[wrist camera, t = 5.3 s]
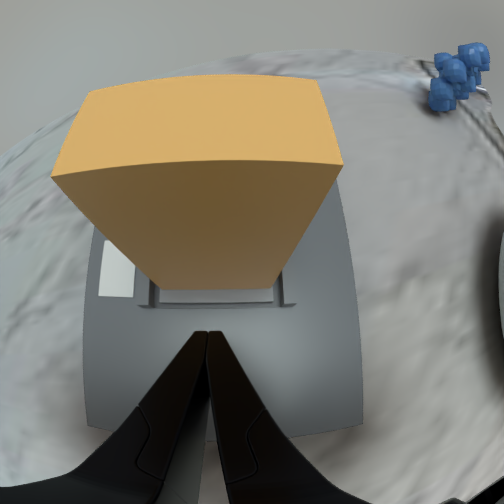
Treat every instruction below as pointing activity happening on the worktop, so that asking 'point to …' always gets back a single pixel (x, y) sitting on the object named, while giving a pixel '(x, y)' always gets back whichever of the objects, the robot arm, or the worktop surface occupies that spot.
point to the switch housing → (234, 334)
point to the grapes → (457, 75)
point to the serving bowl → (501, 282)
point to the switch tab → (203, 178)
